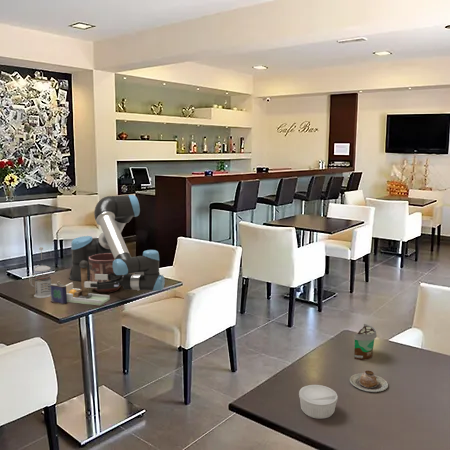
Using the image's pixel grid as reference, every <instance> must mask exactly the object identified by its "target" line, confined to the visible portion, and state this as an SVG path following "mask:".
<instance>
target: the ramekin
mask: <svg viewBox="0 0 450 450" xmlns="http://www.w3.org/2000/svg"><path fill="white" fill-rule="evenodd" d="M299 389H300V390H299V391H298V396H299V402H300V408H301V410H302V412H303V413H304V414H305V415H306V416H307V417H309V418H314V419H320V420H321V419H328V418H330V417H332V415H333V414H334V413H335V410H336V406H337V402H338V394H337V392H336V391H335V390H334V389H333V388H330V387H328V386H325V385H321V384H309V385H305V386H303V387H301V388H299Z"/></svg>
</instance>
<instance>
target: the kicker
mask: <svg viewBox="0 0 450 450" xmlns="http://www.w3.org/2000/svg"><path fill="white" fill-rule="evenodd" d="M79 266H80V267H81V281H80V283H81V285H80V287H81V288H79V289H80V290H78V291H76V292H75V293H74V297H75V298H85V299H88V298H90V297H92V294H93V293H91V294H88V293H89V288H86V287H84V282H89V280H88V279H87V266H88V263H87V261H85V260H82V261H81V262H80V263H79Z"/></svg>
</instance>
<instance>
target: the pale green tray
mask: <svg viewBox="0 0 450 450" xmlns="http://www.w3.org/2000/svg"><path fill="white" fill-rule="evenodd" d="M65 286H66V295H67V303H75V304H83V305H94V306H102V305H104V304H105V303H106V302H108V301H110V300H111V296H110V294H109V295H108V294H99V293H91V292H90V293H89V292H88V294H92V297H90V298H88V299H85V298H75V297H73V294H70V293H69V291H70V290H72V289H75V290H76V291H78V290H80V289H81V288H74V282H73V281H72V282H70V283H67V284H65Z"/></svg>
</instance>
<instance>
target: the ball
mask: <svg viewBox="0 0 450 450" xmlns="http://www.w3.org/2000/svg"><path fill="white" fill-rule="evenodd" d="M75 289H76V288H75ZM75 289H72V290H70V291H69V293H70V294H73V297H74V293H75V292H76V290H75Z"/></svg>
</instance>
